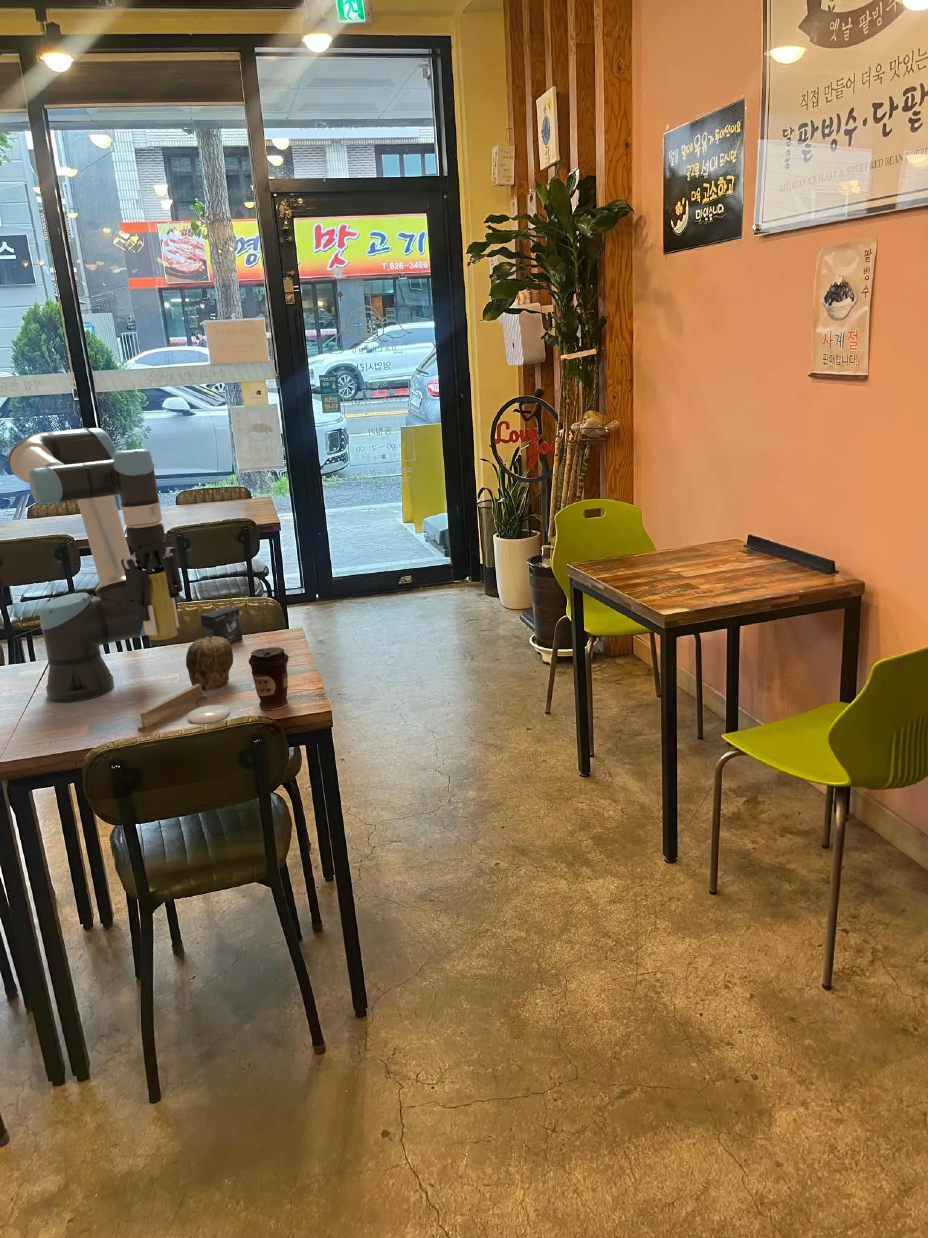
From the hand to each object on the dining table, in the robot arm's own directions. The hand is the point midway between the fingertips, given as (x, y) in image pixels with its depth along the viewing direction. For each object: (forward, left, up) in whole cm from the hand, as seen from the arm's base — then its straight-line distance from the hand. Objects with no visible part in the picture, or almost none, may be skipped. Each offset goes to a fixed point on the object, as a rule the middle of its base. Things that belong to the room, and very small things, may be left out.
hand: (162, 630), depth 193 cm
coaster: (+7, +2, -20) cm, 21 cm away
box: (-24, +45, -20) cm, 55 cm away
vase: (0, 0, -2) cm, 2 cm away
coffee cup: (+18, +11, -20) cm, 29 cm away
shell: (-5, +18, -20) cm, 28 cm away
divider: (-1, 0, -20) cm, 20 cm away
